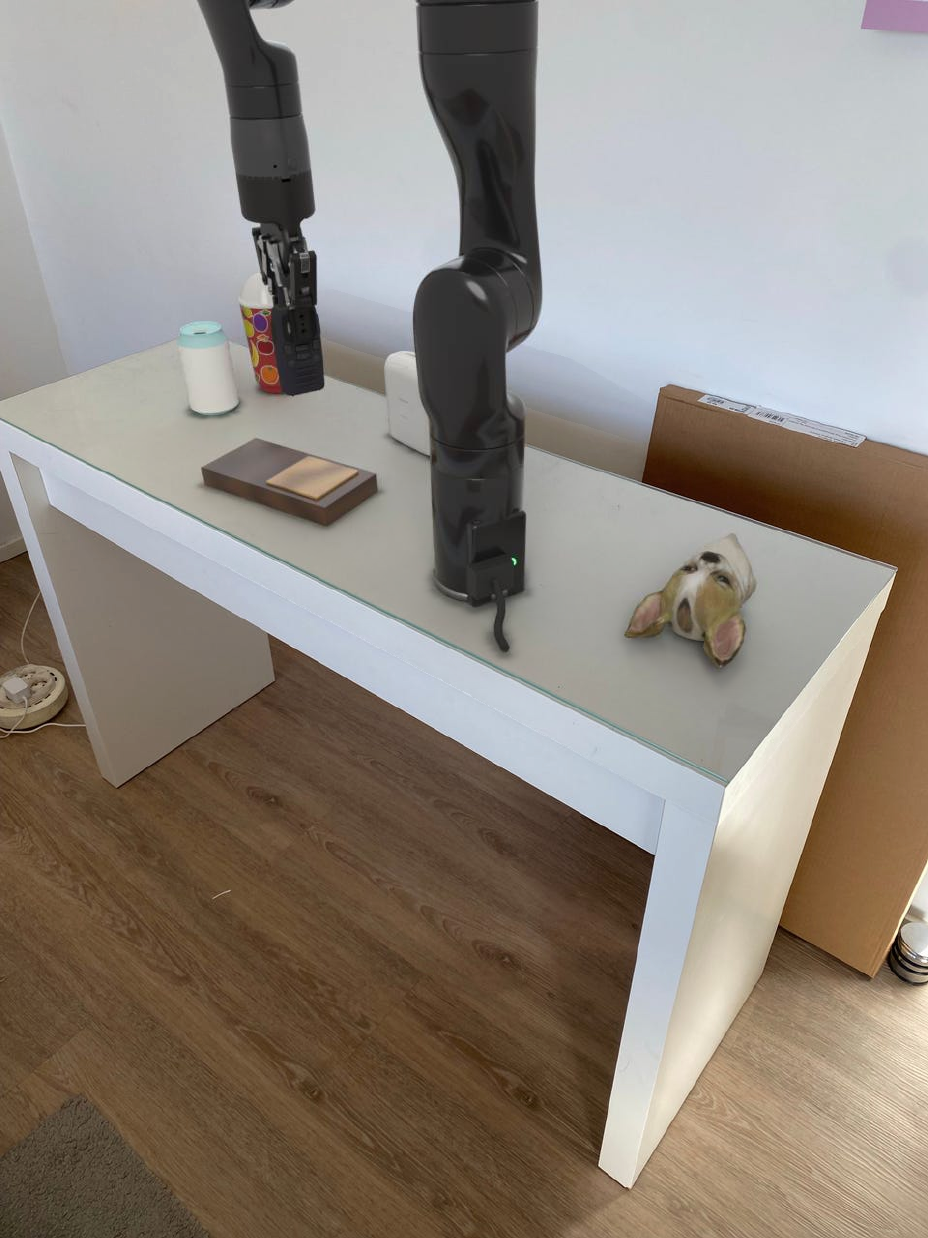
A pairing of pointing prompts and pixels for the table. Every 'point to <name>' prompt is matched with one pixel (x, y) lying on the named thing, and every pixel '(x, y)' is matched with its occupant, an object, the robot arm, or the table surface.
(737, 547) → the ceramic sculpture
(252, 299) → the smoothie
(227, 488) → the walnut board
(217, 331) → the can
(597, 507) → the table surface
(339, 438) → the table surface
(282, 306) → the two-way radio
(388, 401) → the photo printer
